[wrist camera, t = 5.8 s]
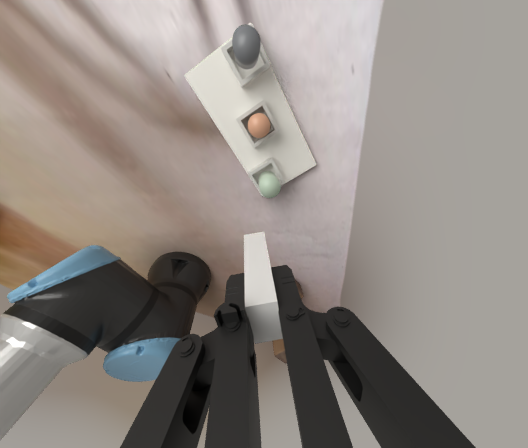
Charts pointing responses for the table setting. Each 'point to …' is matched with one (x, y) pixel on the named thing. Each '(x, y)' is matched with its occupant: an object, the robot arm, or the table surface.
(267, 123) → the terracotta plunger
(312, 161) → the button board
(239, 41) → the charcoal plunger
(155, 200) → the table surface
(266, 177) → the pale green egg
